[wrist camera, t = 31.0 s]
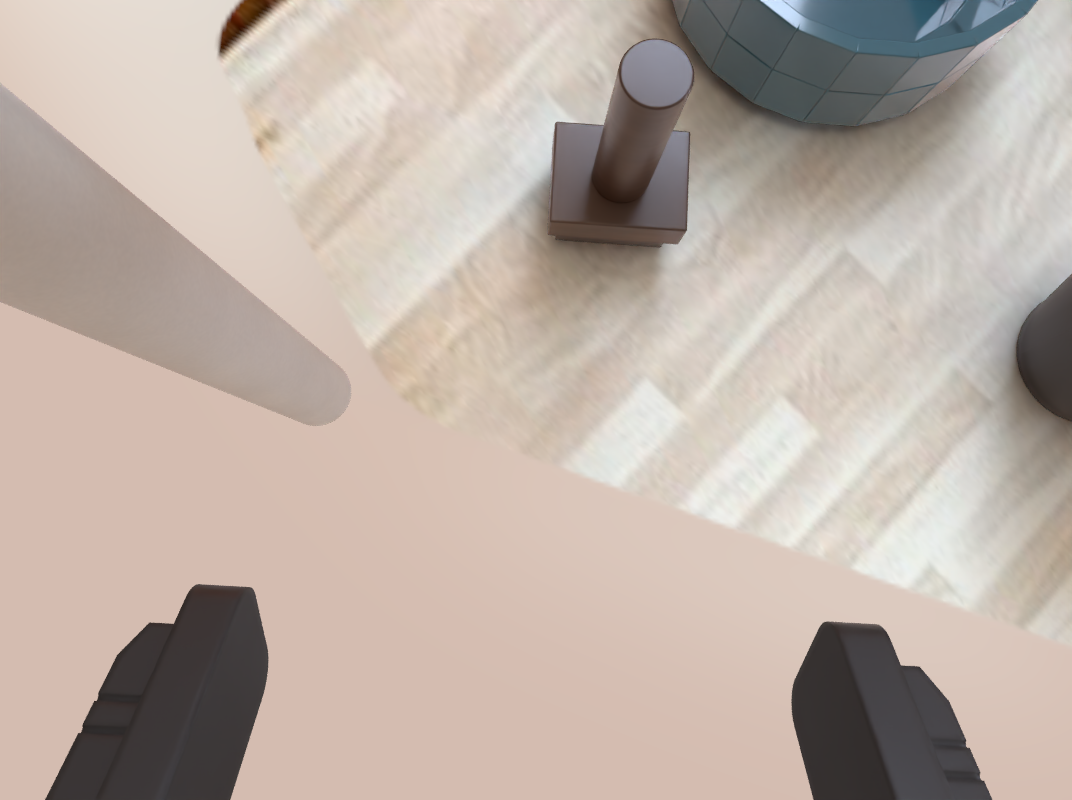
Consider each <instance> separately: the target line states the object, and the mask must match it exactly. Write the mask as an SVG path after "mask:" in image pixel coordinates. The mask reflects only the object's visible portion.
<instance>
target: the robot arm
mask: <svg viewBox="0 0 1072 800" xmlns="http://www.w3.org/2000/svg"><path fill="white" fill-rule="evenodd" d="M267 672H268V649H267V644H266V640H265V636H264V631H263V627H262V622H261V618H260V613H259V609H258V604H257V600H256V595H255V592H254V590H253V589H252V588H250V587H236V586H219V585H201V584H198V585H195V586H194V587H192V589H191V590H190V591H189V593H188V594H187V596H186V599H185V600H184V603H183V605H182V607H181V609H180V611H179V614H178V616H177V618H176V620H175V623H174V624H165V623H149V624H148V625H147V626H146V627H145V628H144V629H143V630H142V631H141V632H140V633H139V634H138V635H137V636H136V637H135V638H134V639H133V640H132V641H131V642H130V643H129V644H128V645H127V646H126V647H125V648H124V649H123V650H122V651H121V652H120V653H119V654H118V655H117V657H116V659H115V661H114V663H113V665H112V667H111V669H110V671H109V673H108V675H107V677H106V679H105V681H104V683H103V685H102V687H101V689H100V691H99V693H98V695H99V696H98V700H97V701H94V703H93V705H92V707H91V709H90V711H89V713H88V715H87V717H86V719H85V721H84V723H83V729H82V732H81V733H78V735H77V737H76V739H75V741H74V743H73V745H72V747H71V749H70V751H69V754H68V755H67V757H66V759H65V761H64V763H63V765H62V767H61V769H60V771H59V773H58V775H57V777H56V780H55V781H54V783H53V785H52V787H51V789H50V791H49V793H48V795H47V797H46V799H45V800H230V799H231V795H232V792H233V789H234V786H235V783H236V780H237V776H238V773H239V770H240V767H241V764H242V761H243V757H244V754H245V751H246V748H247V744H248V742H249V738H250V735H251V732H252V729H253V726H254V722H255V719H256V716H257V713H258V709H259V706H260V703H261V700H262V697H263V694H264V690H265V685H266V680H267ZM792 715H793V722H794V727H795V730H796V734H797V738H798V741H799V746H800V749H801V753H802V757H803V761H804V765H805V768H806V772H807V776H808V780H809V784H810V788H811V791H812V795H813V799H814V800H992V798H991V796H990V793H989V791H988V789H987V787H986V784H985V782H984V781H981V779H980V771H979V768H978V766H977V764H976V762H975V759H974V757H973V755H972V752H971V750H970V748H967V747H966V739H965V737H964V734H963V732H962V730H961V728H960V725H959V723H958V721H957V718H956V716H955V714H954V712H953V709H952V707H951V705H950V702H949V701H948V700H947V698H946V697H945V696H944V695H943V694H942V693H941V692H940V690H939V689H938V688H937V687H936V685H935V684H934V683H933V682H932V681H931V680H930V678H929V677H928V676H927V675H926V674H925V673H924V671H923V670H922V669H921V668H920V667H917V666H916V667H915V666H901V665H900V662H899V660H898V658H897V655H896V653H895V650H894V647H893V645H892V642H891V640H890V638H889V636H888V634H887V632H886V631H885V630H884V629H883V628H882V627H881V626H880V625H877V624H861V623H842V622H824V623H823V624H822V625H821V626H820V628H819V629H818V632H817V634H816V636H815V638H814V640H813V642H812V644H811V646H810V648H809V651H808V653H807V655H806V657H805V659H804V661H803V664H802V666H801V668H800V670H799V672H798V674H797V676H796V678H795V681H794V684H793V690H792Z"/></svg>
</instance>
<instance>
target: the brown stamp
mask: <svg viewBox="0 0 1072 800" xmlns="http://www.w3.org/2000/svg"><path fill="white" fill-rule="evenodd" d="M693 82H694V71H693V66H692V63H691V61H690V59H689V57H688V56H687V54H686V53H685V52H684V51H683V50H682V49H681V48H680V47H679V46H677V45H676V44H674V43H672V42H669V41H667V40H663V39H648V40H644V41H641V42H639V43H637V44H635V45H633V46H632V47H631V48H630V49H629V50H628V51H627V52H626V53H625V54H624V56H623V57H622V60H621V62H620V65H619V69H618V73H617V77H616V81H615V85H614V88H613V92H612V96H611V100H610V104H609V108H608V112H607V115H606V119H605V123H604V125H592V124H579V123H565V122H556V123H555V129H554V136H553V148H552V164H551V181H550V198H549V215H548V231H547V233H548V235H552V236H556V238H555V239H556V240H564V241H578V242H593V243H607V244H621V245H636V246H650V247H661V245H662V244H663V243H666V244H678V243H679V241H680V240H681V238H682V237H683V235H684V234H685V232H686V231H687V211H688V183H689V155H690V132H686V131H673V129H674V127H675V125H676V122H677V120H678V118H679V116H680V114H681V111H682V109H683V107H684V105H685V102H686V100H687V98H688V96H689V93H690V91H691V89H692V86H693Z"/></svg>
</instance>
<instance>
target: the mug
mask: <svg viewBox="0 0 1072 800" xmlns="http://www.w3.org/2000/svg"><path fill="white" fill-rule="evenodd" d="M1017 358H1018V364H1019V369H1020V372H1021V375H1022V377H1023V380H1024V382H1025V384H1026V386H1027V387H1028V389H1029V390H1030V392H1031V393H1032V395H1033V396H1034V397H1035V398H1036V399H1037V400H1038V401H1039V402H1040V403H1041V404H1042V405H1043V406H1044V407H1045V408H1046V409H1048V410H1049V411H1051V412H1053V413H1054V414H1056V415H1057V416H1059V417H1062V418H1065V419H1067V420H1070V421H1072V274H1071V275H1070V276H1069V277H1068V278H1067V279H1066V280H1065V281H1064V282H1063V283H1062V284H1061V285H1060V286H1059V287H1058V288H1057V289H1056V290H1055V291H1054V292H1053V293H1052V294H1051V295H1050V296H1049V297H1048V298H1047V299H1046V300H1044V301H1043V302H1042V303H1040V304H1039V305H1038V306H1037V307H1036V308H1035V309H1034V310H1033V311H1032V312H1031V313H1030V314H1029V316H1028V317H1027V319H1026V321H1025V322H1024V324H1023V326H1022V328H1021V332H1020V335H1019V339H1018V347H1017Z"/></svg>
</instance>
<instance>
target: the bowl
mask: <svg viewBox="0 0 1072 800" xmlns="http://www.w3.org/2000/svg"><path fill="white" fill-rule="evenodd" d="M1037 1H1038V0H672V2H673V5H674V8H675V12H676V15H677V18H678V22H679V25H680V27H681V29H682V30H683V32H684V33H685V34H686V36H687V37H688V39H689V40H690V42H691V43H692V45H693V46H694V47H695V49H696V50H697V52H698V53H699V55H700V56H701V58H702V59H703V60H704V62H705V63H706V65H707V66H708V68H709V69H711V71H712V72H713V73H715V74H716V75H717V76H719V77H720V78H721V79H722V80H724V81H725V82H726V83H728V84H729V85H730V86H731V87H733V88H734V89H735V90H737V91H738V92H739V93H740V94H742V95H743V96H744V97H745V98H747V99H748V100H749V101H751V102H752V101H753V103H754V104H756V105H759V106H761V107H764V108H766V109H769V110H772V111H774V112H777V113H779V114H782V115H784V116H787V117H790V118H792V119H795V120H797V121H800V122H802V121H803V122H805V123H818V124H831V125H844V126H855V125H856V126H859V125H863V124H867V123H871V122H876V121H880V120H884V119H889V118H893V117H897V116H901V115H905V114H907V113H909V112H911V111H912V110H914V109H916V108H917V107H919V106H921V105H922V104H924V103H925V102H927V101H929V100H930V99H932V98H934V97H935V96H937V95H938V94H940V93H942V92H943V91H945V90H946V89H948V88H949V87H950V86H951V85H952V84H953V83H954V82H955V81H956V80H957V79H959V78H960V77H961V76H962V75H963V74H964V73H965V72H966V71H967V70H968V69H969V68H970V67H971V66H972V65H973V64H974V63H976V62H977V61H978V60H979V59H980V58H981V57H982V56H983V55H984V54H985V53H986V52H987V51H988V50H989V49H991V48H992V47H993V46H994V45H995V44H996V43H997V42H998V41H999V40H1000V39H1001V38H1002V37H1003V36H1004V35H1005V34H1006V33H1008V32H1009V31H1010V30H1011V29H1012V28H1013V27H1014V26H1015V25H1016V24H1017V23H1018V22H1019V21H1020V20H1021V19H1022V18H1023V17H1025V16H1026V15H1027V14H1028V12H1029V11H1030V10H1031V9H1032V7H1033V6H1034V5H1035V4H1036V2H1037Z"/></svg>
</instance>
